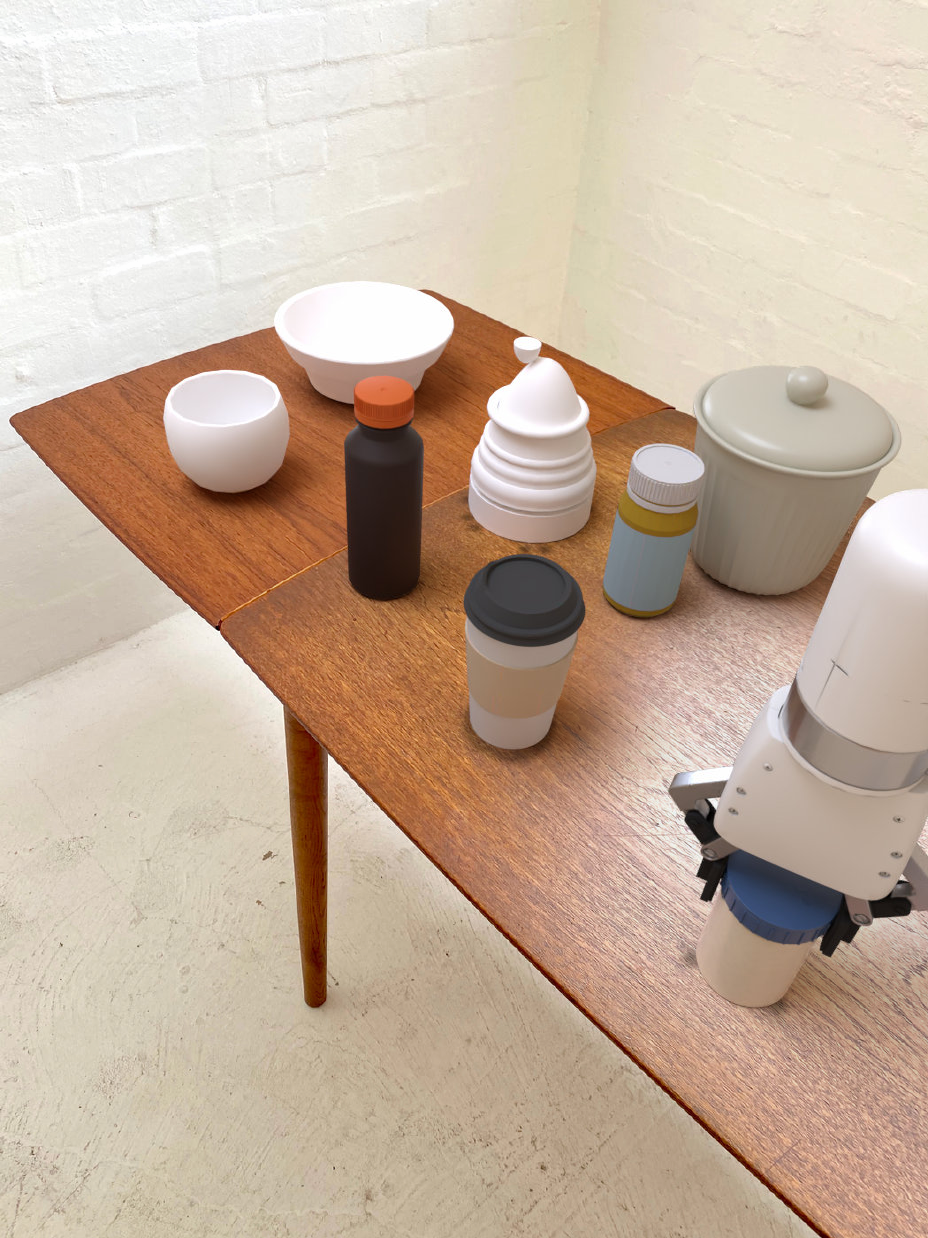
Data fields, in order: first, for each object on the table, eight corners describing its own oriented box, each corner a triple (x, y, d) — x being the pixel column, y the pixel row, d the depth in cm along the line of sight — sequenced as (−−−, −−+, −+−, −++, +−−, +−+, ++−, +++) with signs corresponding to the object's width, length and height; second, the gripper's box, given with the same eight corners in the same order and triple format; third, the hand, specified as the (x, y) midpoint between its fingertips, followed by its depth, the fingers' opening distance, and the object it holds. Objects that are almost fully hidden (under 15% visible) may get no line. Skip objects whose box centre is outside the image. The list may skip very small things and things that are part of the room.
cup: (312, 492, 103) (307, 411, 96) (199, 525, 97) (186, 442, 91) (264, 435, 110) (256, 356, 104) (157, 464, 105) (142, 383, 98)
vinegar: (388, 611, 90) (388, 420, 76) (333, 580, 92) (324, 390, 79) (434, 575, 94) (442, 388, 80) (380, 546, 97) (379, 361, 83)
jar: (801, 944, 67) (845, 866, 61) (779, 1025, 63) (823, 949, 56) (711, 904, 69) (744, 823, 62) (683, 980, 65) (715, 901, 58)
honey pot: (452, 526, 100) (461, 365, 87) (487, 460, 109) (500, 306, 97) (575, 554, 97) (602, 392, 85) (601, 485, 106) (628, 330, 94)
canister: (826, 645, 89) (909, 448, 75) (637, 584, 94) (680, 388, 80) (855, 538, 102) (931, 351, 87) (686, 489, 107) (732, 305, 92)
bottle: (594, 610, 91) (620, 476, 81) (608, 566, 96) (634, 434, 86) (669, 628, 90) (705, 494, 80) (679, 582, 95) (714, 450, 85)
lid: (700, 857, 62) (706, 841, 61) (799, 836, 63) (807, 820, 62) (752, 957, 57) (759, 942, 56) (857, 932, 58) (866, 917, 57)
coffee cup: (574, 691, 83) (599, 554, 73) (552, 772, 77) (577, 632, 67) (472, 667, 85) (483, 529, 75) (442, 744, 78) (450, 604, 68)
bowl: (350, 447, 109) (348, 381, 104) (245, 373, 120) (238, 309, 115) (486, 389, 120) (491, 327, 115) (379, 326, 131) (378, 266, 126)
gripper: (1050, 736, 49) (920, 923, 61) (716, 617, 55) (656, 811, 67) (1041, 847, 44) (901, 1027, 56) (674, 704, 49) (618, 896, 61)
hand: (769, 908), depth 61 cm, fingers closed on lid, 6 cm apart
